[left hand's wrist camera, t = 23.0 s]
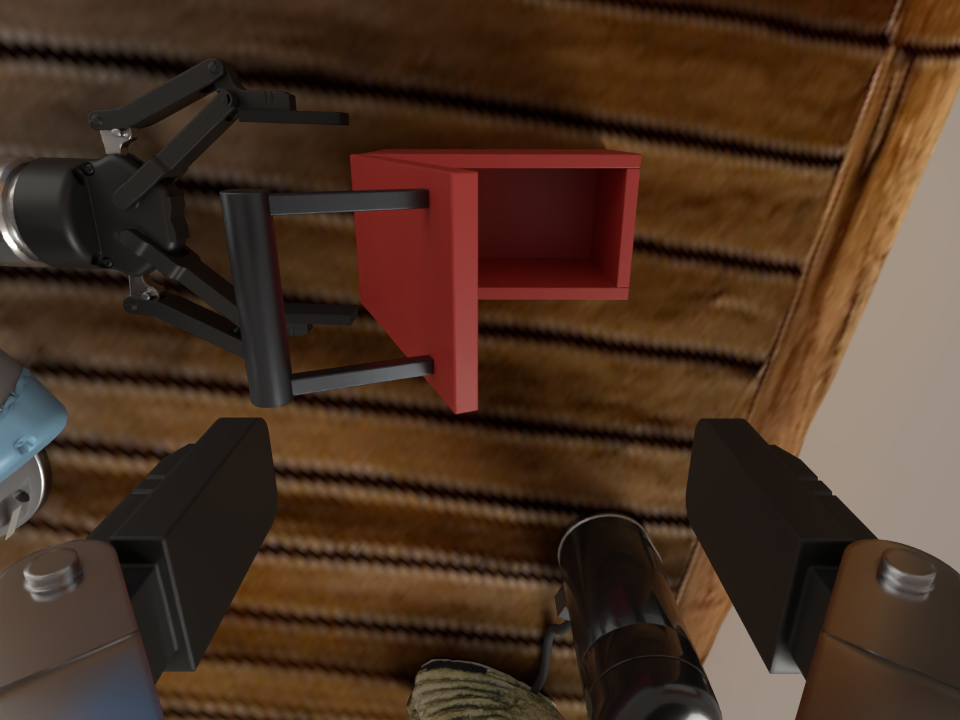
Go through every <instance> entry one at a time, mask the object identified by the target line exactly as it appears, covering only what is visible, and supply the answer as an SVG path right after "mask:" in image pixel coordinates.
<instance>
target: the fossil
mask: <svg viewBox="0 0 960 720" xmlns="http://www.w3.org/2000/svg"><path fill="white" fill-rule="evenodd" d="M530 689H531V687H530V686H528V685H526V684H525V683H523V682H520V681H517V680H516V679H514V678H513V677H511V676H510V675H508V674H505V673H503V672H500V671H498V670H496V669H493V668H491V667H488V666H485V665H482V664H479V663H475V662H468V661H461V660H453V661H452V660H448V659H432V660H430V661H429V662H427V663H426V664H424V665H422V667H421V668H420V670H419V671H418V673H417V675H416V677H415V687H414V690H413V692H412V694H411V695H410V697H409V700H408V703H407V710H408V712H409V714H410V720H566V719H565V718H564V717H563V716H562V715H561V714H560V713H559V712H558V710H557V709H556V708H555V707H556V705H555V704H554V703H553V702H552V701H551V700H550V699H549V698H548V697H546V696H544V695H542V694H541V693H538V694H537V695H535V694H534V693H532V692H530Z"/></svg>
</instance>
